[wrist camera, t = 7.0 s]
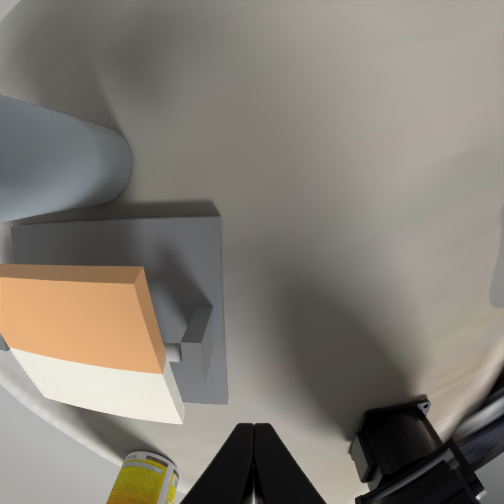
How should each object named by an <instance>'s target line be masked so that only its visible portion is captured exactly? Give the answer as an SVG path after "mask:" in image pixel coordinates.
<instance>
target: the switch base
mask: <svg viewBox="0 0 504 504" xmlns="http://www.w3.org/2000/svg"><path fill="white" fill-rule="evenodd" d="M11 230H12V240H13V248H14V255H15V262H16V264H27V265H72V266H143V268H144V272H145V277H146V281H147V285H148V289H149V293H150V297H151V301H152V305H153V309H154V312H155V316H156V320H157V323H158V327H159V330H160V334H161V337H162V341H163V342H166V343H180V344H181V352H182V362H169V363H170V366H171V369H172V373H173V376H174V379H175V382H176V384H177V387H178V390H179V393H180V396H181V399H182V402H189V403H203V404H225V405H227V403H228V384H227V367H226V349H225V329H224V306H223V280H222V249H221V216H182V217H150V218H126V219H105V220H86V221H70V222H55V223H41V224H28V225H18V226H14V227H11ZM9 349H10V348H9V346H8V345H7V343H6V342H5V340H4V338H3V337H2V335H1V333H0V350H4V351H8V350H9Z"/></svg>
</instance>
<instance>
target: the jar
mask: <svg viewBox="0 0 504 504" xmlns="http://www.w3.org/2000/svg"><path fill="white" fill-rule="evenodd" d="M132 163H133V162H132V153H131V149H130V147H129V145H128V143H127V141H126V140H125V138H124V137H123V136H122V135H121V134H119V133H118V132H116V131H114V130H111V129H109V128H106V127H103V126H100V125H97V124H94V123H91V122H88V121H85V120H82V119H79V118H76V117H73V116H70V115H67V114H64V113H61V112H57V111H54V110H51V109H48V108H44V107H41V106H38V105H34V104H31V103H27V102H24V101H20V100H17V99H13V98H9V97H6V96H2V95H0V223H3V222H7V221H12V220H16V219H21V218H26V217H31V216H36V215H41V214H46V213H52V212H57V211H63V210H68V209H74V208H80V207H86V206H92V205H99V204H104V203H108V202H110V201H112V200H113V199H115V198H116V197H117V196H118V195H120V193H121V192H122V191H123V190H124V188H125V187H126V185H127V183H128V181H129V179H130V176H131V172H132Z"/></svg>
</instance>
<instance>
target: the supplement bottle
mask: <svg viewBox="0 0 504 504" xmlns="http://www.w3.org/2000/svg"><path fill="white" fill-rule="evenodd" d="M178 480H179V472H178V470H177V468H176V467H175V466H174V465H173V464H172V463H171V462H170V461H169V460H167V459H165V458H164V457H162V456H160V455H157V454H154V453H151V452H145V451H136V452H132V453H130V454H128V455H127V456H126V458H125V460H124V462H123V465H122V467H121V470H120V472H119V474H118V477H117V479H116V482H115V484H114V486H113V489H112V491H111V493H110V496H109V499H108V501H107V503H106V504H173V502H174V498H175V493H176V489H177V484H178Z"/></svg>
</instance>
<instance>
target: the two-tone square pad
mask: <svg viewBox="0 0 504 504" xmlns="http://www.w3.org/2000/svg"><path fill="white" fill-rule="evenodd" d="M0 333H1V335H2V337H3V338H4V340H5V342H6V343H7V345H8V346H9V348H10V349H11V351H12V353H13V354H14V356H15V357H16V359H17V360H18V362H19V363H20V364H21V366H22V367H23V369H24V370H25V372H26V373H27V374H28V376H29V377H30V378H31V380H32V381H33V383H34V384H35V385H36V386H37V388H38V389H39V390H40V392H41V393H42V394H43V395H44V397H45V398H49V399H52V400H55V401H59V402H62V403H66V404H70V405H74V406H77V407H81V408H86V409H90V410H94V411H99V412H103V413H108V414H113V415H118V416H124V417H130V418H136V419H142V420H149V421H156V422H164V423H172V424H182V425H183V420H184V414H185V407H184V404H183V402H182V399H181V396H180V393H179V390H178V387H177V384H176V382H175V379H174V376H173V373H172V369H171V366H170V363H169V362H182V352H181V344H180V343H166V342H163V341H162V337H161V334H160V330H159V327H158V323H157V320H156V316H155V312H154V309H153V305H152V301H151V297H150V293H149V289H148V285H147V281H146V277H145V272H144V268H143V266H72V265H27V264H0Z"/></svg>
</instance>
